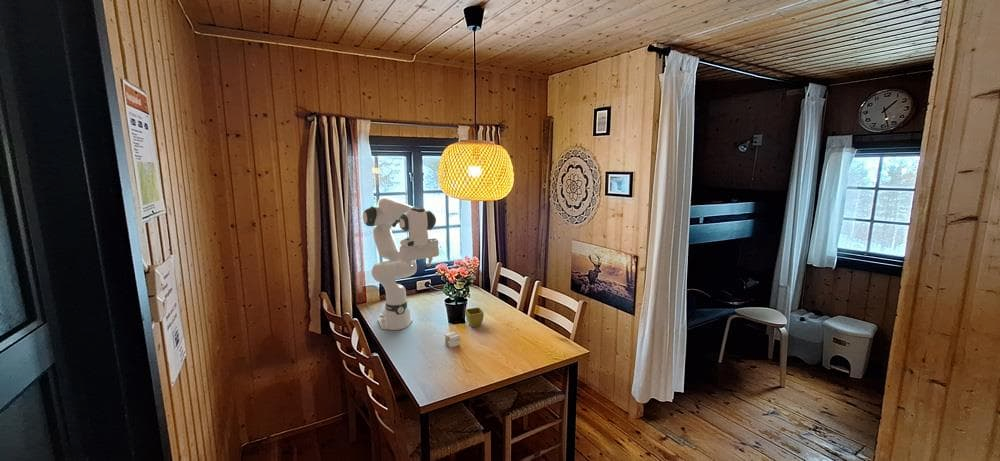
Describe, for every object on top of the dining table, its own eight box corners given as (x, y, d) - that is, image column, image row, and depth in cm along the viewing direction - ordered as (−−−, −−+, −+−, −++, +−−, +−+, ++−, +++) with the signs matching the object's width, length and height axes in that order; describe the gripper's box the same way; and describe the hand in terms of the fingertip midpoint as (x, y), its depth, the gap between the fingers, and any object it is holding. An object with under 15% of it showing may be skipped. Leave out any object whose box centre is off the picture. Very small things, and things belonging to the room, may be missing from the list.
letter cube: (445, 344, 205) (444, 334, 204) (454, 341, 208) (454, 331, 207) (450, 348, 201) (450, 338, 200) (459, 345, 204) (459, 335, 203)
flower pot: (484, 327, 227) (484, 312, 225) (469, 329, 224) (469, 314, 222) (479, 321, 235) (479, 307, 233) (465, 323, 232) (465, 309, 230)
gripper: (435, 236, 202) (435, 262, 204) (397, 241, 190) (398, 269, 192) (440, 238, 197) (441, 265, 199) (402, 243, 185) (403, 272, 187)
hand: (420, 267), depth 196 cm, fingers open, 8 cm apart
